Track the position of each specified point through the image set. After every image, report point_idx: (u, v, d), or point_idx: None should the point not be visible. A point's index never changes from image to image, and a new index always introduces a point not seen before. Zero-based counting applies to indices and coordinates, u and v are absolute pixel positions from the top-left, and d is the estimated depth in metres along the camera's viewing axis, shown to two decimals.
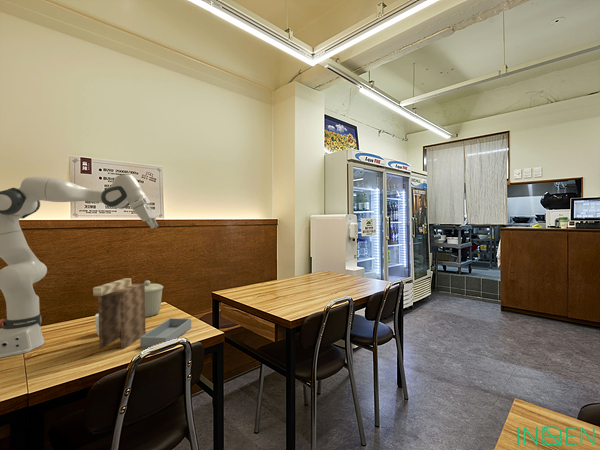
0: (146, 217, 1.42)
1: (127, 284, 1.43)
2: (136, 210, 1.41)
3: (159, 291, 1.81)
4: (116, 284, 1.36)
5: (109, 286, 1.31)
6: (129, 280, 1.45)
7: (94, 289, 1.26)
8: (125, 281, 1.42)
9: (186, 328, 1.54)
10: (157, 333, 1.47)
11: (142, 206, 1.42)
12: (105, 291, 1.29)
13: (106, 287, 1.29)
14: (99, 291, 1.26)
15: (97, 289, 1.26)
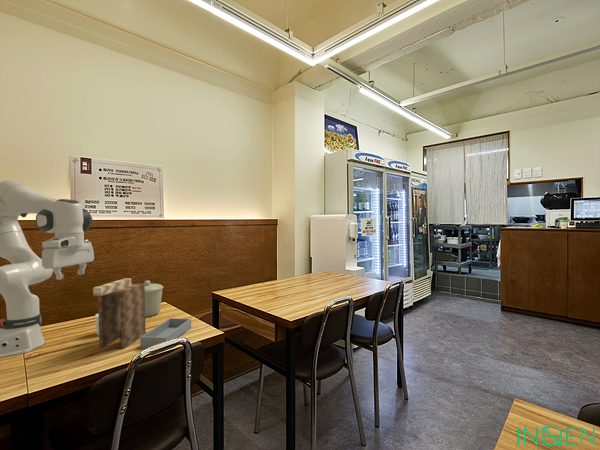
0: (48, 266, 1.05)
1: (127, 284, 1.43)
2: (43, 252, 1.05)
3: (159, 291, 1.81)
4: (116, 284, 1.36)
5: (109, 286, 1.31)
6: (129, 280, 1.45)
7: (94, 289, 1.26)
8: (125, 281, 1.42)
9: (186, 328, 1.54)
10: (157, 333, 1.47)
11: (52, 251, 1.05)
12: (105, 291, 1.29)
13: (106, 287, 1.29)
14: (99, 291, 1.26)
15: (97, 289, 1.26)
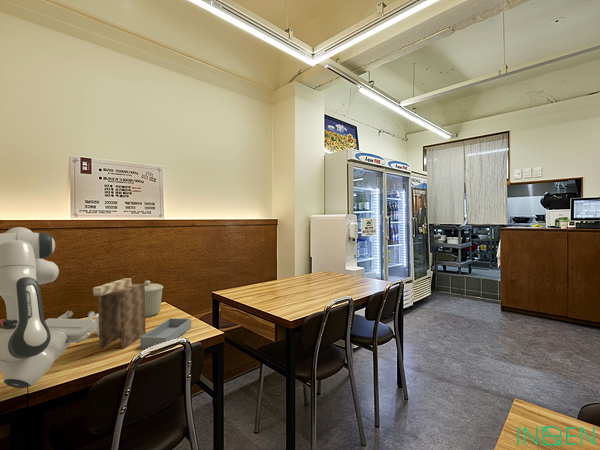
0: None
1: (127, 284, 1.43)
2: None
3: (159, 291, 1.81)
4: (116, 284, 1.36)
5: (109, 286, 1.31)
6: (129, 280, 1.45)
7: (94, 289, 1.26)
8: (125, 281, 1.42)
9: (186, 328, 1.54)
10: (157, 333, 1.47)
11: None
12: (105, 291, 1.29)
13: (106, 287, 1.29)
14: (99, 291, 1.26)
15: (97, 289, 1.26)
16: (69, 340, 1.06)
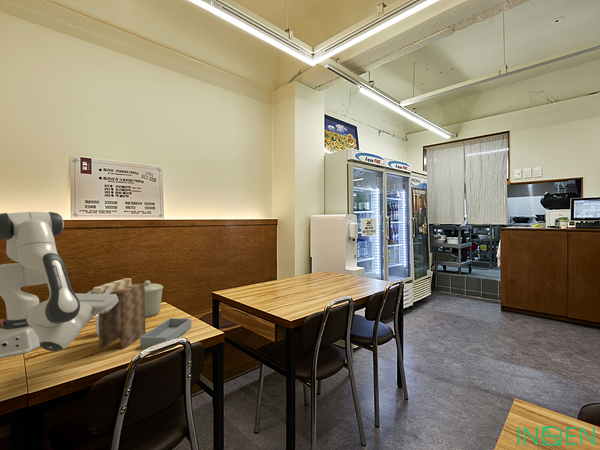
0: None
1: (127, 284, 1.43)
2: None
3: (159, 291, 1.81)
4: (116, 284, 1.36)
5: (109, 286, 1.31)
6: (129, 280, 1.45)
7: (94, 289, 1.26)
8: (125, 281, 1.42)
9: (186, 328, 1.54)
10: (157, 333, 1.47)
11: None
12: None
13: (106, 287, 1.29)
14: (99, 291, 1.26)
15: (97, 289, 1.26)
16: (94, 311, 1.18)
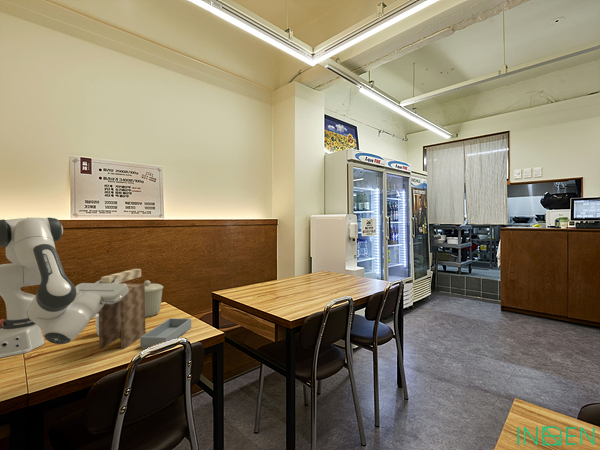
0: None
1: (137, 274, 1.35)
2: None
3: (159, 291, 1.81)
4: (125, 274, 1.27)
5: (118, 276, 1.23)
6: (139, 271, 1.36)
7: (102, 278, 1.18)
8: (134, 271, 1.33)
9: (186, 328, 1.54)
10: (157, 333, 1.47)
11: None
12: None
13: None
14: (108, 281, 1.18)
15: (105, 278, 1.18)
16: (103, 301, 1.09)
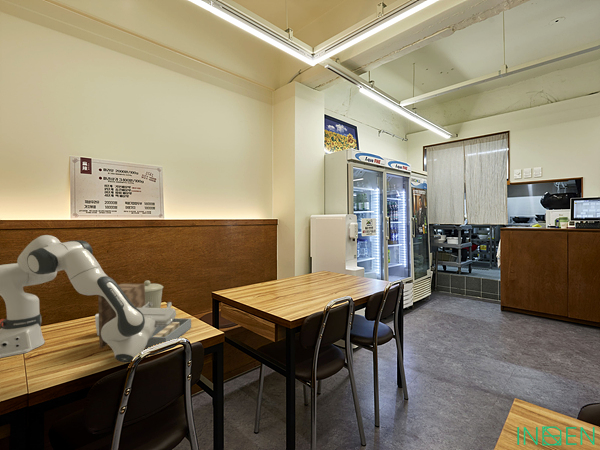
0: None
1: None
2: None
3: (159, 291, 1.81)
4: (169, 330, 1.46)
5: (165, 334, 1.41)
6: (178, 324, 1.55)
7: None
8: (175, 326, 1.52)
9: (186, 328, 1.54)
10: None
11: None
12: None
13: (163, 335, 1.40)
14: None
15: None
16: (157, 325, 1.29)
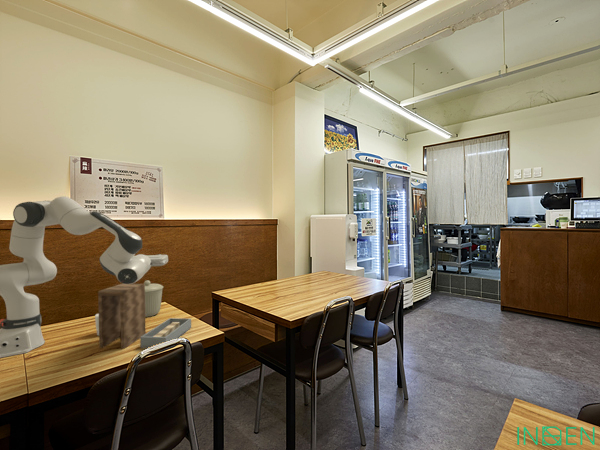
0: None
1: None
2: None
3: (159, 291, 1.81)
4: (169, 330, 1.46)
5: (165, 334, 1.41)
6: (178, 324, 1.55)
7: None
8: (175, 326, 1.52)
9: (186, 328, 1.54)
10: None
11: None
12: None
13: (163, 335, 1.40)
14: None
15: None
16: (153, 262, 1.36)
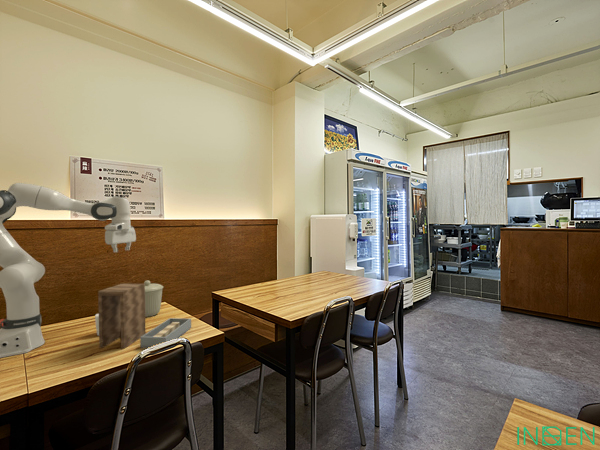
0: (109, 242, 1.53)
1: None
2: (106, 233, 1.54)
3: (159, 291, 1.81)
4: (169, 330, 1.46)
5: (165, 334, 1.41)
6: (178, 324, 1.55)
7: None
8: (175, 326, 1.52)
9: (186, 328, 1.54)
10: None
11: (112, 232, 1.54)
12: None
13: (163, 335, 1.40)
14: None
15: None
16: None
